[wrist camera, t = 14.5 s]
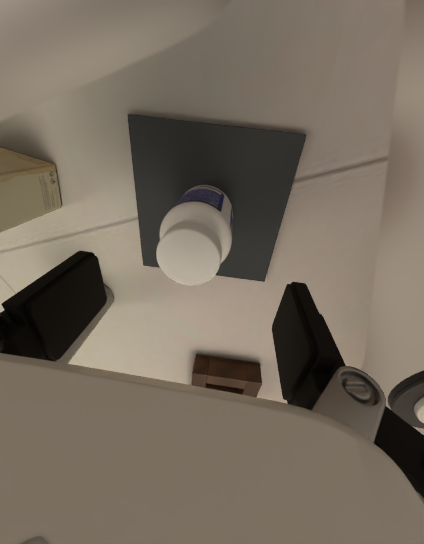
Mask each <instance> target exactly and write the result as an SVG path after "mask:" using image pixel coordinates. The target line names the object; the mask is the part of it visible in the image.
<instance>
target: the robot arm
mask: <svg viewBox="0 0 424 544" xmlns="http://www.w3.org/2000/svg"><path fill="white" fill-rule="evenodd" d="M106 302H107V296H106V291H105V287H104V283H103V278H102V274H101V270H100V266H99V261H98V258H97V256H95V255H94V253H92V252H85V251H79V252H77V253H75V254H74V255H72V256H71V257H69V258H68V259H67V260H65V261H64V262H62V263H61V264H59V265H58V266H56V267H55V268H53V269H52V270H50V271H49V272H47V273H46V274H45V275H43V276H42V277H40V278H39V279H37V280H36V281H34V282H33V283H31V284H30V285H28V286H27V287H25V288H24V289H23V290H21V291H20V292H18V293H17V294H15V295H14V296H12V297H11V298H9V299H8V300H6V301H5V302H3V303H2V306H3V308H4V309H5V310H4V311H3V312H1V313H0V544H424V435H422V434H421V433H420V432H418V431H417V430H416V429H415V428H413V427H412V426H411V425H410V424H408V423H407V422H406V421H404V420H403V419H402V418H401V417H399V416H398V415H397V414H395V413H394V412H393V411H391V410H390V409H389V408H388V407H386V406H385V405H386V398H385V395H384V392H383V391H382V389H381V388H380V386H379V385H378V384H377V383H376V382H375V380H374V379H373V378H371V377H370V376H369V375H368V374H366V373H365V372H363V371H361V370H359V369H357V368H354V367H351V366H346V365H345V363H344V361H343V359H342V357H341V355H340V352H339V350H338V348H337V346H336V344H335V342H334V339H333V337H332V335H331V333H330V331H329V328H328V326H327V324H326V322H325V320H324V318H323V316H322V315H321V314H319V312H318V310H317V308H316V305H315V303H314V301H313V299H312V296H311V294H310V292H309V290H308V287H307V285H306V284H305V283H298V282H292V283H291V284H287V286H286V289H285V291H284V294H283V297H282V300H281V302H280V305H279V308H278V311H277V314H276V316H275V319H274V322H273V325H272V333H273V339H274V345H275V352H276V358H277V364H278V371H279V377H280V383H281V389H282V395H283V399H284V400H287V402H288V404H286V403H281V402H277V401H272V400H267V399H262V398H257V397H251V396H246V395H241V394H236V393H231V392H225V391H220V390H214V389H208V388H203V387H197V386H192V385H186V384H181V383H175V382H169V381H164V380H158V379H152V378H147V377H141V376H135V375H129V374H124V373H118V372H112V371H106V370H101V369H95V368H89V367H83V366H77V365H71V364H65V363H59V362H55V361H56V360H59V359H60V358H61V357H62V356H63V355H64V354H65V352H66V351H67V350H68V349H69V348H70V346H71V345H72V344H73V343H74V342H75V340H76V339H77V338H78V337H79V336H80V334H81V333H82V332H83V331H84V330H85V328H86V327H87V326H88V325H89V324H90V322H91V321H92V320H93V319H94V318H95V316H96V315H97V314H98V313H99V312H100V310H101V309H102V308H103V307H104V305H105V304H106ZM414 412H415V414H416V416H417V417H418V419H419V420H420V421H421V422H422V423H424V396H423V397H422V398H421V399H419V400H418V401H417V402H416V404H415V406H414Z"/></svg>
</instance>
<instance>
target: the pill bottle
mask: <svg viewBox="0 0 424 544" xmlns="http://www.w3.org/2000/svg"><path fill="white" fill-rule="evenodd" d="M232 225H233V209H232V205H231V203H230V201H229V199H228V197H227V196H226V195H225V194H224V193H223V192H222V191H221V190H219V189H218V188H216V187H213V186H209V185H199V186H196V187H193V188H191V189H189V190H188V191H187V192H186V193H185V194H184V195H183V196H182V197H181V198H180V199H179V200H178V202H177V203H176V204H175V205H174V206H173V207H172V209H171V210H170V211H169V212H168V213H167V215H166V216H165V218H164V219H163V221H162V224H161V227H160V242H159V244H158V246H157V251H156V256H157V262H158V264H159V266H160V268H161V270H162V271H163V272H164V273H165V275H166V276H168V277H169V278H170V279H172V280H173V281H175V282H178V283H180V284H184V285H200V284H203V283H206V282H208V281H209V280H211V279H212V278H213V277H214V276H215V275H216V273H217V272H218V270H219V267H220V264H221V263H222V262H223V261H224V260H225V258H226V257H227V255H228V253H229V251H230V248H231V244H232Z"/></svg>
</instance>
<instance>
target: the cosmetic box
mask: <svg viewBox="0 0 424 544" xmlns="http://www.w3.org/2000/svg"><path fill="white" fill-rule="evenodd" d="M59 208H61V200H60V192H59V186H58V180H57V174H56V168H55V165H54V164H51V163H48V162H45V161H42V160H39V159H36V158H33V157H30V156H26V155H23V154H20V153H17V152H14V151H10V150H7V149H4V148H0V232H2V231H5V230H7V229H10V228H12V227H15V226H17V225H19V224H22V223H24V222H27V221H29V220H32V219H34V218H37V217H39V216H42V215H44V214H47V213H49V212H51V211H54V210H56V209H59Z"/></svg>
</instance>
